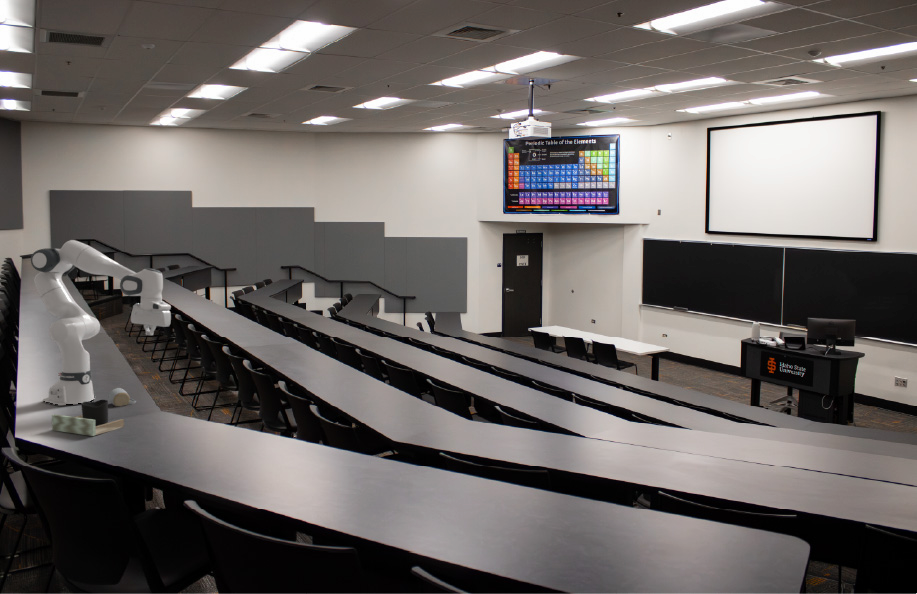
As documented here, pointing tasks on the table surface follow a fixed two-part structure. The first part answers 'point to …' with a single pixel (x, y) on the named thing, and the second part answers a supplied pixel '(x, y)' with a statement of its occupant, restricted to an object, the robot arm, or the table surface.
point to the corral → (82, 425)
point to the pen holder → (96, 411)
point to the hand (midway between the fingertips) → (149, 335)
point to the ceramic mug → (120, 397)
